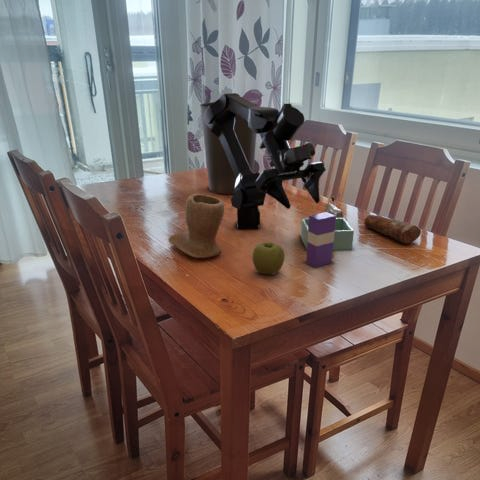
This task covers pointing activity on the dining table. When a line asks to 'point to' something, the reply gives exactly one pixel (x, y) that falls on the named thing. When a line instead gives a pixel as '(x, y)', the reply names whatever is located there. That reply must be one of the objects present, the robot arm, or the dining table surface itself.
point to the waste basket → (216, 157)
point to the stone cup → (200, 227)
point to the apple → (268, 257)
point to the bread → (393, 228)
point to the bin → (341, 235)
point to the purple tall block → (320, 239)
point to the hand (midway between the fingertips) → (304, 205)
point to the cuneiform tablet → (333, 209)
